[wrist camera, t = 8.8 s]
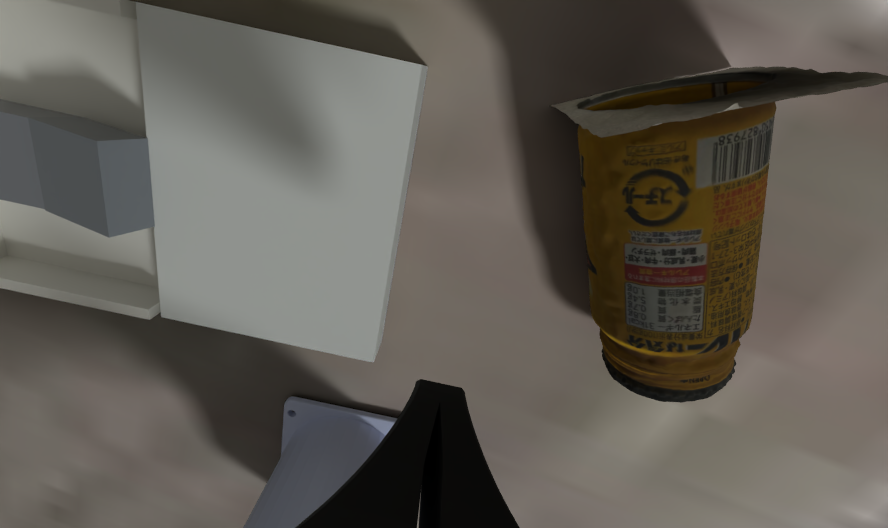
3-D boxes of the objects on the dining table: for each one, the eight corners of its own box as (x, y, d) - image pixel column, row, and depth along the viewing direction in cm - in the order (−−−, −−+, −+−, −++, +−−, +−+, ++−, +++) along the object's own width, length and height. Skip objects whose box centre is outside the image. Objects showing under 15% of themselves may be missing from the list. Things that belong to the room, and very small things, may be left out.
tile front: (154, 226, 20) (108, 237, 18) (94, 202, 21) (45, 210, 19) (147, 138, 18) (96, 141, 16) (82, 116, 19) (27, 117, 17)
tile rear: (92, 200, 21) (55, 211, 19) (12, 182, 21) (-32, 192, 19) (81, 116, 19) (39, 120, 18) (-5, 97, 19) (-56, 99, 18)
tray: (180, 297, 23) (149, 320, 21) (6, 260, 23) (-43, 278, 21) (163, 8, 18) (119, -3, 16) (-65, -42, 18) (-143, -60, 15)
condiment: (548, 101, 18) (572, 333, 23) (600, 130, 10) (619, 468, 15) (733, 61, 17) (716, 313, 22) (944, 61, 9) (845, 449, 14)
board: (381, 340, 23) (373, 362, 22) (186, 298, 23) (161, 317, 22) (428, 66, 18) (422, 64, 16) (171, 10, 18) (135, 1, 16)
